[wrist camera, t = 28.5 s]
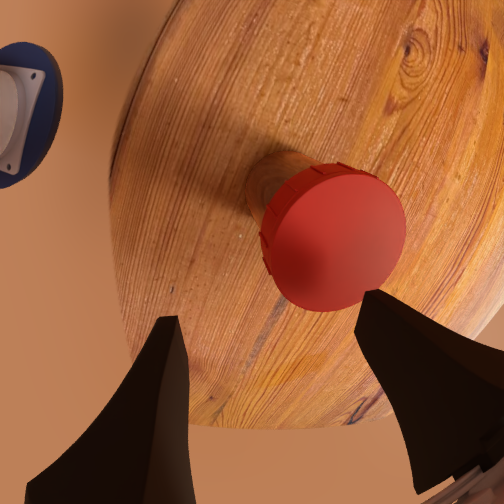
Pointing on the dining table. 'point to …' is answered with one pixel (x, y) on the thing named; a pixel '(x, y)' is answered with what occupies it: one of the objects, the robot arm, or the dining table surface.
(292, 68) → the dining table surface
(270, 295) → the dining table surface
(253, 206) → the jar
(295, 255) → the jar lid
